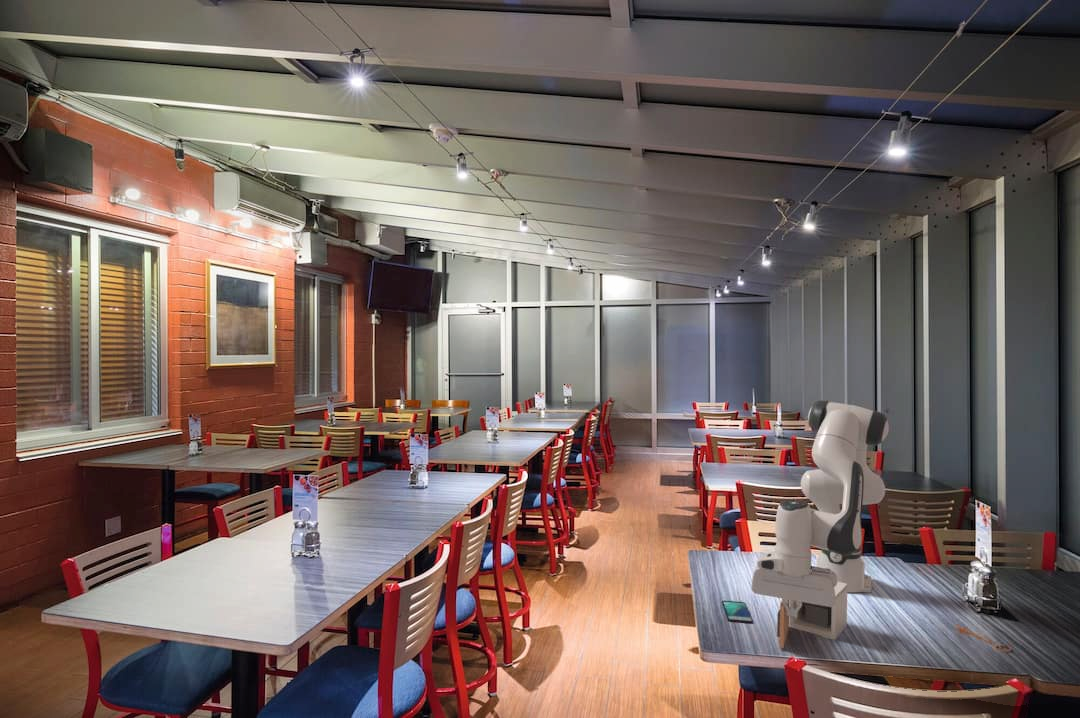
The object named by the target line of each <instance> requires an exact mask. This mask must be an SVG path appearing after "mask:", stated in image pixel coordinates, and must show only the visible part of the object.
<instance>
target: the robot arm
mask: <svg viewBox="0 0 1080 718" xmlns="http://www.w3.org/2000/svg"><path fill="white" fill-rule="evenodd" d="M887 417H888V416H886V415H885V414H884V413H882V412H880V411H877V410H875V409H874V410H871V409H869V408H865V407H862V406H858V405H854V404H847V403H840V402H834V401H833V402H832V401H829V400H817V401H815V402H813V404H812V406H811V407H810V408H809V411H808V413H807V421H808V427H809V428H810V430H812V431H813V432H815V433H816V435H815V438H814V441H813V444H812V448H811V457H812V460H813V463H814V464H815V465H816V466H817V468H818V469H810V470H806V471H805V472H804V474H802V476H801V479H800V488H801V492H802V493H803V494H804V496H805V497H806V498H807V499H808V500H810V501H811V502H812V503H813V505H815V506H816V508H817V510H816V509H814V508H811V506H810V505H809V503H808V502H807V501H805V500H802V499H797V498H790V499H785V500H782V501H780V502H779V503H778V507H777V510H776V516H775V517H776V518H775V526H774V528H775V530H774V534H775V538H776V543H775V547H774V551H771V552H765V553H764V552H763V553H760V554H759V556H758V557H757V559H756V566H755V568H754V571H753V574H752V578H751V591H752V592H753V593H754V594H755V595H756V594H757V595H761V596H766V597H773V598H777V599H781V601H782V603H783V604H784V606H785V608H786V609H787V616H789V618H790V617H795V618H797V616H798V611H799V609H800V608H801V607H802V602H805V603H810V604H816V605H821V606H827V607H833V606H834V605H835V589H834V587H835V586H836V585H837V581H838V582H842V583H846V584H847V593H872V586H873V585H872V584H873V583H872V581H873V580H872V577H871V575H868V574H866V573H865V571H866V570H865V566H866V565H865V564H866V563H865V562H864V560H863V558H862V549H861V545H862V536H863V535H862V533H863V532H862V530H863V528H862V516H863V505H864V506H865V505H874V504H875V505H876V504H879V503H880V502H881V501H882V500H884V497H885V494H886V485H885V483H884V480H883V479H882V478H881V477H880V476H879V475H878V474H877V473H875V472H873V471H872V470H871V469H870V467H869V465H868V463H867V452H868V451H867V450H868V446H878V445H881V444H882V443H883V442H884V440H885V439H886V438H887V436H888V435H889V429H890V427H889V421H888V418H887ZM841 504H842V506H841ZM840 506H841V507H842V508H841V507H840ZM811 547H814V548H817V549H820V551H821V552H820V553H819V554H818V555H817V556H816V562H815V566H813V565H812V550H811ZM789 600H794V601H796V605H797V606H796V608H795V609H794V608H790V607H789V605H788V601H789Z"/></svg>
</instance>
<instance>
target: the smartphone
mask: <svg viewBox="0 0 1080 718" xmlns="http://www.w3.org/2000/svg"><path fill="white" fill-rule="evenodd" d="M721 604H722V606H723V610H724V612H725V616H726V619H727V622H730V623H737V624H748V625H753V624H754V620H753V618H752V615H751V613H750V610H749V609H748V606H747V603H745V601H735V600H734V601H733V600H722V601H721Z"/></svg>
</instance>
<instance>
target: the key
mask: <svg viewBox="0 0 1080 718" xmlns="http://www.w3.org/2000/svg"><path fill="white" fill-rule="evenodd" d="M953 630H954V631H956V632H957V633H958V632H959V633H960V634H961V635H972V636H974V637H976V638H977V639H980V640H982V641H984V642H986V643H988V644H990V645H992V646H994V649H995V650H996V651H998V652H1002V653H1011V652H1012V649H1011V647H1008V646H1007V645H999V644H997V643H996V642H993V641H991V640H990V639H987V638H985V637H982V635H979V634H977V633H976V632H972V631H971V630H968V629H967V628H965V627H963V626H961V625H958V626H957V627H954V628H953ZM1003 649H1004V650H1003ZM1005 649H1006V650H1005Z"/></svg>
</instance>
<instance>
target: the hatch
mask: <svg viewBox="0 0 1080 718" xmlns="http://www.w3.org/2000/svg"><path fill="white" fill-rule="evenodd" d="M788 605H789V607H790V600H789V601H788ZM776 623H777V627H776V630H777V633H776V634H777V635H776V636H777V637H778V638H779V642H778V644H779V645H778V646H779V649H784V647H785V644H786V640H787V636H788V631H789V628H790V616H787V609H786V608H785V606H784V604H783V603H782V600H781V601H780V605H779V609H778V611H777V622H776Z"/></svg>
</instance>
